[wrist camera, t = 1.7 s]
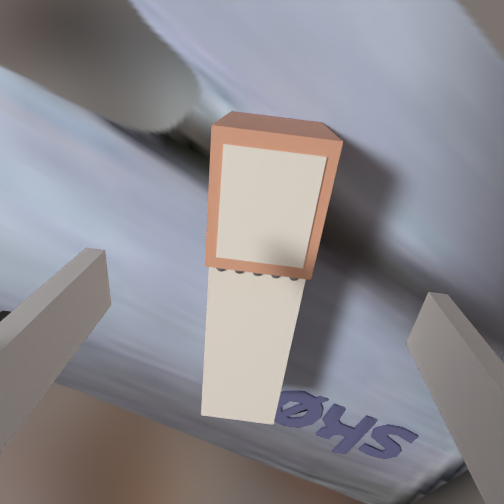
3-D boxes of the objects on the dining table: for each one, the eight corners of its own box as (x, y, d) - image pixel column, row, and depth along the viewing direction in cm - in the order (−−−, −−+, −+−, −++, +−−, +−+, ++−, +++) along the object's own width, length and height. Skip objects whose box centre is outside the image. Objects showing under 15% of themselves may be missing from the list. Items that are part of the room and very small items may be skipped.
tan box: (231, 111, 28) (211, 125, 19) (322, 122, 28) (343, 141, 19) (223, 217, 33) (204, 267, 24) (301, 226, 33) (311, 281, 24)
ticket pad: (223, 219, 33) (209, 258, 26) (301, 229, 33) (308, 270, 26) (213, 359, 43) (200, 416, 35) (273, 367, 43) (273, 426, 35)
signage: (422, 435, 47) (381, 469, 51) (420, 430, 47) (380, 464, 52) (241, 369, 43) (215, 412, 47) (242, 365, 43) (216, 408, 48)
